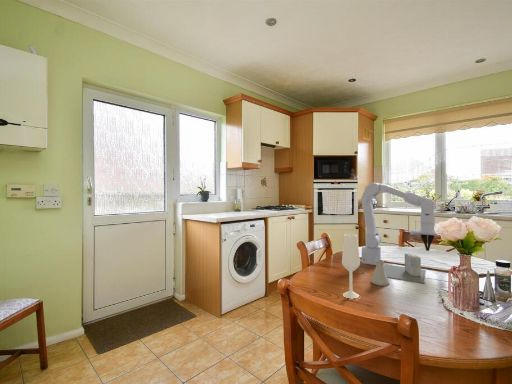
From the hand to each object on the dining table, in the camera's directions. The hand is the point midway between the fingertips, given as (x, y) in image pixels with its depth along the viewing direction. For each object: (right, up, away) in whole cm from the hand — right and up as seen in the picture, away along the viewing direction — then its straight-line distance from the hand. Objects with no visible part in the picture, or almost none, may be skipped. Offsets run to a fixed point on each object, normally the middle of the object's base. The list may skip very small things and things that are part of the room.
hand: (427, 250), depth 128 cm
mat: (-13, -11, -2) cm, 17 cm away
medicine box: (-9, -11, -3) cm, 14 cm away
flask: (-30, -12, -13) cm, 35 cm away
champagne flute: (-47, -12, -26) cm, 55 cm away
